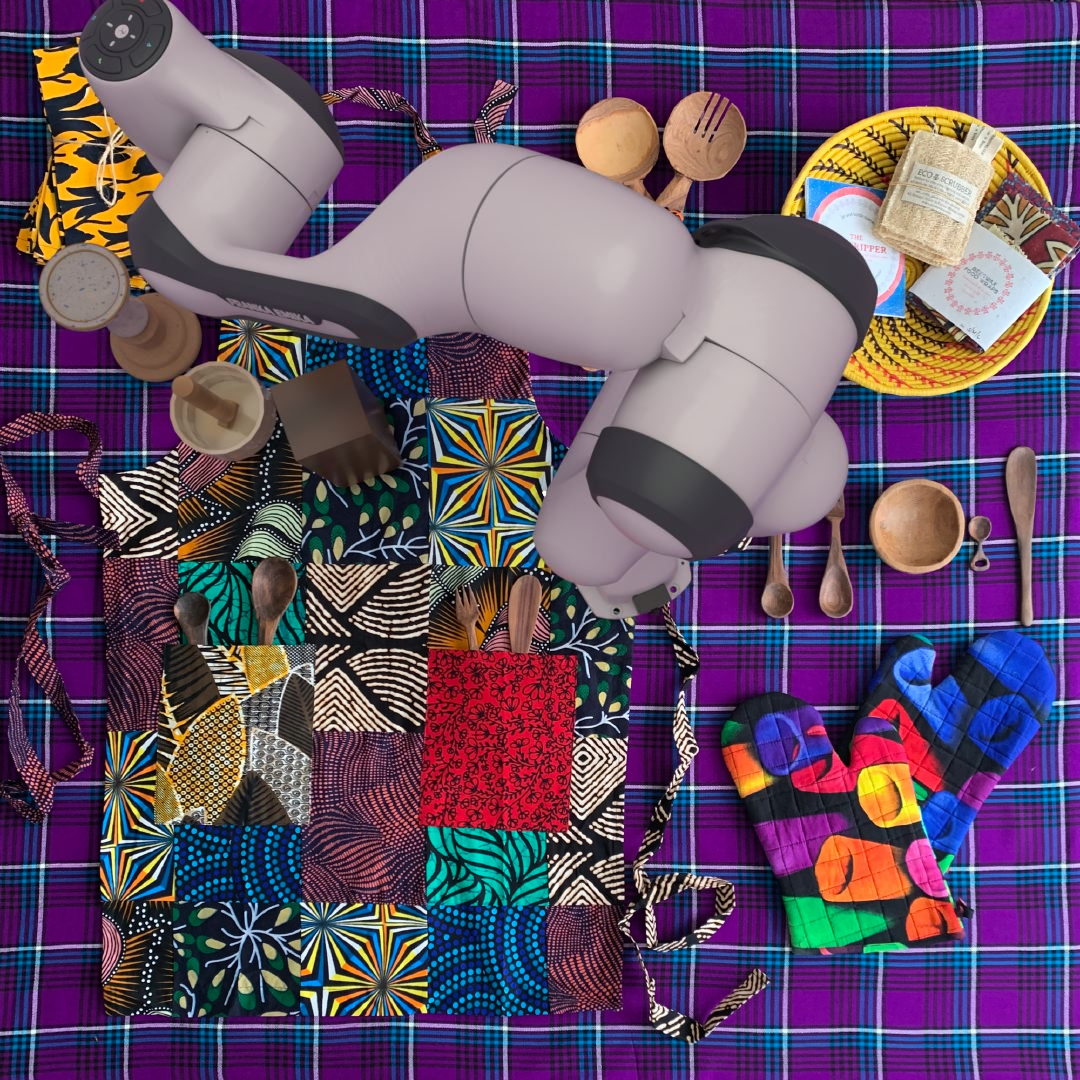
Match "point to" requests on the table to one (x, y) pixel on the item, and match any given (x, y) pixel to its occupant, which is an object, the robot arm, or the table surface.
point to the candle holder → (119, 312)
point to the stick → (206, 401)
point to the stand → (336, 425)
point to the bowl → (251, 416)
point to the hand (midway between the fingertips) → (263, 223)
